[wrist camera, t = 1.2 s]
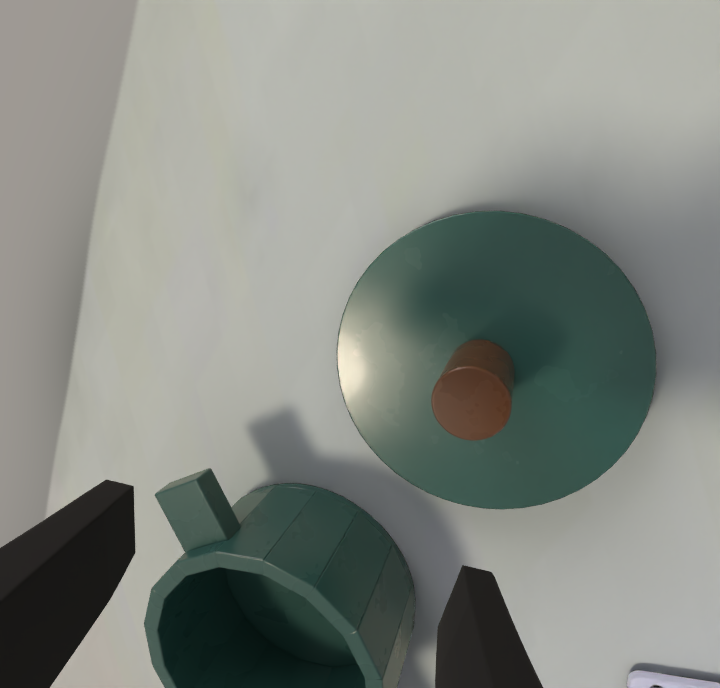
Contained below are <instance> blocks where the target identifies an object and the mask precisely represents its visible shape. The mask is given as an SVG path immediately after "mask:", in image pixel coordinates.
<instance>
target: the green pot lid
mask: <svg viewBox="0 0 720 688" xmlns="http://www.w3.org/2000/svg"><path fill="white" fill-rule="evenodd" d="M337 369H338V376H339V382H340V387H341V391H342V394H343V398H344V402H345V404H346V406H347V409H348V411H349V414H350V416H351V418H352V420H353V422H354V424H355V426H356V427H357V429H358V431H359V433H360V434H361V436H362V437H363V438H364V440H365V441H366V443H367V444H368V445H369V447H370V448H371V449H372V450H373V451H374V452H375V454H376V455H377V456H378V457H379V458H380V459H381V460H382V461H383V462H384V463H385V464H386V465H387V466H389V467H390V468H391V469H392V470H393V471H394V472H395V473H397V474H398V475H399V476H401V477H402V478H404V479H405V480H407V481H408V482H410V483H411V484H413V485H415V486H416V487H418V488H420V489H422V490H424V491H426V492H428V493H430V494H432V495H435V496H437V497H440V498H442V499H445V500H448V501H451V502H455V503H458V504H462V505H467V506H473V507H479V508H488V509H514V508H525V507H530V506H536V505H541V504H545V503H548V502H551V501H554V500H557V499H561V498H563V497H565V496H567V495H569V494H572V493H574V492H576V491H578V490H580V489H582V488H583V487H585V486H587V485H588V484H590V483H591V482H593V481H595V480H596V479H597V478H599V477H600V476H601V475H602V474H603V473H605V472H606V471H607V470H608V469H610V468H611V467H612V466H613V465H614V464H615V463H616V462H617V460H618V459H619V458H620V457H621V456H622V455H623V454H624V453H625V452H626V451H627V449H628V448H629V446H630V445H631V443H632V442H633V440H634V439H635V437H636V436H637V434H638V432H639V430H640V428H641V426H642V424H643V422H644V420H645V418H646V416H647V413H648V410H649V407H650V403H651V400H652V397H653V392H654V385H655V378H656V350H655V344H654V338H653V332H652V328H651V325H650V322H649V319H648V316H647V313H646V310H645V308H644V306H643V304H642V302H641V300H640V298H639V296H638V294H637V292H636V290H635V289H634V287H633V286H632V284H631V283H630V282H629V280H628V279H627V277H626V276H625V275H624V273H623V272H622V271H621V269H620V268H619V267H618V266H617V265H616V264H615V263H614V262H613V261H612V260H611V259H610V258H609V257H608V256H607V255H606V254H605V253H604V252H602V251H601V250H600V249H599V248H597V247H596V246H595V245H593V244H592V243H591V242H590V241H588V240H587V239H585V238H583V237H582V236H580V235H578V234H576V233H575V232H573V231H571V230H569V229H568V228H566V227H563V226H561V225H558V224H556V223H553V222H551V221H548V220H546V219H542V218H538V217H534V216H530V215H527V214H522V213H514V212H505V211H476V212H470V213H463V214H456V215H453V216H449V217H445V218H442V219H438V220H435V221H433V222H430V223H428V224H426V225H424V226H421V227H419V228H417V229H415V230H413V231H411V232H410V233H408V234H406V235H405V236H403V237H401V238H400V239H398V240H397V241H396V242H394V243H393V244H392V245H391V246H389V247H388V248H387V249H386V250H384V251H383V252H382V253H381V254H380V255H379V256H378V257H377V258H376V259H375V261H374V262H373V263H372V264H371V265H370V266H369V267H368V268H367V270H366V271H365V273H364V274H363V275H362V277H361V278H360V279H359V281H358V283H357V284H356V286H355V288H354V290H353V292H352V294H351V295H350V297H349V300H348V302H347V305H346V308H345V310H344V313H343V316H342V320H341V324H340V329H339V334H338V343H337Z"/></svg>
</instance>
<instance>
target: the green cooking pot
mask: <svg viewBox="0 0 720 688" xmlns="http://www.w3.org/2000/svg"><path fill="white" fill-rule="evenodd" d="M155 496H156V498H157V500H158V502H159V504H160V506H161V508H162V510H163V512H164V513H165V515H166V517H167V519H168V521H169V523H170V525H171V527H172V528H173V530H174V532H175V534H176V536H177V538H178V540H179V542H180V543H181V545H182V547H183V549H184V551H185V552H186V553H184V554H183V555H182V556H181V557H180V558H179V559H178V560H177V561H176V562H175V563H174V564H173V566H172V567H171V568H170V569H169V570H168V571H167V572H166V573H165V574H164V575H163V576H162V577H161V579H160V580H159V581H158V582H157V583H156V584H155V585H154V586H153V587H152V589H151V593H150V598H149V603H148V607H147V612H146V617H145V622H144V627H145V632H146V637H147V642H148V646H149V651H150V656H151V661H152V665H153V667H154V669H155V671H156V673H157V675H158V676H159V678H160V680H161V682H162V684H163V685H164V687H165V688H397V685H398V682H399V678H400V674H401V671H402V667H403V664H404V660H405V656H406V653H407V649H408V645H409V642H410V638H411V635H412V631H413V627H414V614H415V593H414V586H413V582H412V578H411V575H410V571H409V569H408V567H407V564H406V562H405V559H404V557H403V556H402V554H401V552H400V550H399V549H398V547H397V545H396V544H395V542H394V541H393V540H392V538H391V537H390V536H389V534H388V533H387V532H386V531H385V530H384V529H383V528H382V526H381V525H380V524H379V523H378V522H377V521H376V520H375V519H373V518H372V517H371V516H370V515H369V514H368V513H367V512H365V511H364V510H363V509H361V508H360V507H358V506H357V505H356V504H354V503H352V502H351V501H349V500H347V499H345V498H344V497H342V496H340V495H337V494H335V493H333V492H330V491H328V490H325V489H322V488H318V487H315V486H310V485H304V484H294V483H284V484H274V485H270V486H266V487H262V488H260V489H258V490H255V491H253V492H251V493H249V494H248V495H246V496H244V497H242V498H241V499H240V500H238V501H237V502H236V503H235V504H234V505H233V506H232V507H231V506H230V504H229V502H228V500H227V498H226V497H225V495H224V493H223V491H222V489H221V487H220V485H219V483H218V481H217V479H216V477H215V475H214V473H213V471H212V469H206V470H203V471H201V472H198V473H195V474H193V475H190V476H187V477H184V478H182V479H179V480H176V481H174V482H171V483H169V484H168V485H166V486H165V487H164V488H162V489H161V490H160V491H158V492H157V493H156V494H155Z"/></svg>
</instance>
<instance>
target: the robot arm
mask: <svg viewBox="0 0 720 688" xmlns="http://www.w3.org/2000/svg"><path fill="white" fill-rule="evenodd" d="M134 554H135V523H134V487H133V486H131V485H127V484H123V483H118V482H114V481H110V480H105V481H103V482H102V483H100V484H99V485H97V486H96V487H94V488H92V489H91V490H89V491H88V492H86V493H85V494H83V495H82V496H80V497H79V498H77V499H76V500H74V501H73V502H71V503H70V504H68V505H67V506H65V507H64V508H62V509H60V510H59V511H57V512H56V513H54V514H53V515H51V516H50V517H48V518H47V519H45V520H44V521H43V522H41V523H39V524H38V525H36V526H34V527H33V528H31V529H30V530H28V531H26V532H25V533H23V534H22V535H20V536H19V537H17V538H15V539H14V540H12V541H11V542H9V543H8V544H6V545H4V546H3V547H1V548H0V688H50V686H51V685H52V683H53V682H54V681H55V679H56V678H57V676H58V675H59V673H60V672H61V670H62V669H63V668H64V666H65V665H66V663H67V662H68V660H69V659H70V657H71V656H72V655H73V653H74V652H75V650H76V649H77V647H78V646H79V644H80V643H81V641H82V640H83V639H84V637H85V636H86V634H87V633H88V631H89V630H90V628H91V627H92V625H93V624H94V622H95V621H96V620H97V618H98V617H99V615H100V614H101V612H102V611H103V609H104V608H105V606H106V605H107V603H108V602H109V600H110V599H111V597H112V595H113V593H114V591H115V590H116V588H117V586H118V584H119V582H120V581H121V579H122V577H123V575H124V573H125V571H126V569H127V567H128V565H129V564H130V562H131V560H132V558H133V556H134ZM435 685H436V688H543V687H542V685H541V682H540V680H539V678H538V676H537V674H536V672H535V670H534V668H533V666H532V664H531V661H530V659H529V657H528V655H527V653H526V651H525V648H524V646H523V644H522V642H521V639H520V637H519V635H518V632H517V630H516V628H515V626H514V623H513V621H512V619H511V616H510V614H509V611H508V609H507V607H506V604H505V602H504V599H503V597H502V594H501V592H500V589H499V587H498V584H497V582H496V579H495V577H494V575H493V574H492V572H489V571H485V570H481V569H476V568H472V567H468V566H464V565H462V568H461V570H460V573H459V575H458V578H457V580H456V583H455V585H454V588H453V590H452V593H451V595H450V598H449V600H448V603H447V605H446V608H445V610H444V613H443V615H442V618H441V620H440V623H439V625H438V635H437V653H436V676H435ZM653 685H658V686H660V687H652V686H653ZM627 688H720V683H716V682H710V681H704V680H697V679H691V678H685V677H679V676H672V675H666V674H660V673H654V672H647V671H641V670H636V671H633V672H631V673H630V674H629V675H628V678H627Z"/></svg>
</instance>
